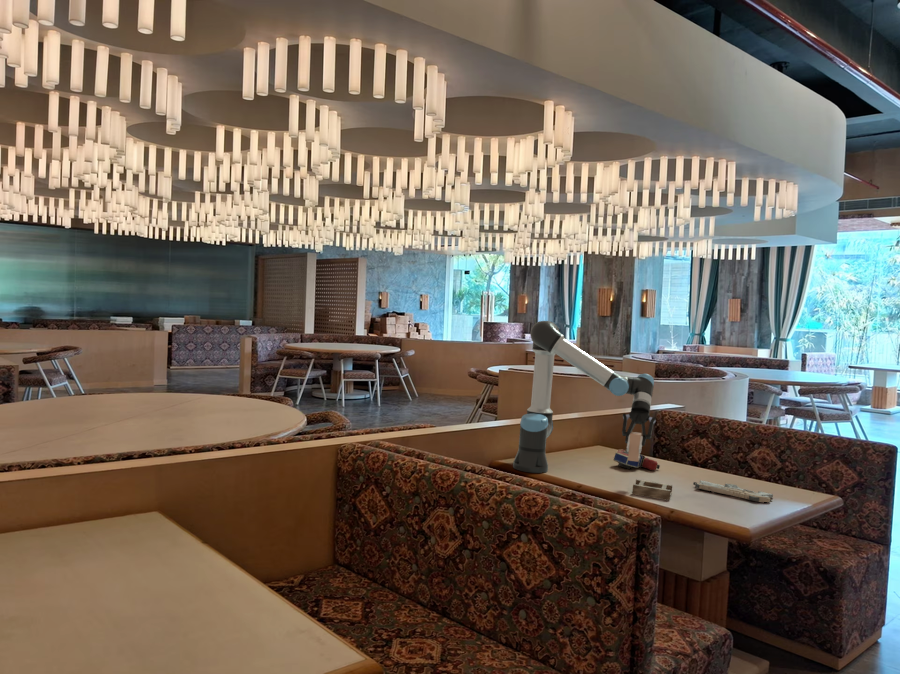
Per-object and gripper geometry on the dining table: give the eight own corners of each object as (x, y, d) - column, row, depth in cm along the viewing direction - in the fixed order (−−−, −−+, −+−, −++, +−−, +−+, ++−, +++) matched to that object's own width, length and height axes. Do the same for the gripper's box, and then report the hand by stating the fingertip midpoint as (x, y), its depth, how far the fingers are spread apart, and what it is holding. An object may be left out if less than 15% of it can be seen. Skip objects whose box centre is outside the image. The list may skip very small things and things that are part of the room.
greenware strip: (627, 460, 274) (630, 433, 273) (629, 458, 278) (631, 431, 278) (638, 461, 272) (640, 434, 272) (639, 459, 277) (641, 432, 276)
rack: (632, 494, 264) (632, 485, 264) (635, 487, 275) (636, 479, 275) (669, 500, 259) (670, 491, 259) (671, 493, 270) (672, 484, 270)
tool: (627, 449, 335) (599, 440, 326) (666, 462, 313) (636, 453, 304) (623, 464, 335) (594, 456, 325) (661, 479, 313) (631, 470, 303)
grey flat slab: (703, 484, 297) (689, 489, 281) (704, 477, 297) (690, 481, 281) (777, 500, 279) (766, 506, 263) (778, 493, 279) (767, 498, 263)
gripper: (662, 413, 286) (655, 458, 271) (621, 408, 292) (612, 452, 277) (662, 402, 281) (655, 447, 266) (620, 397, 287) (611, 441, 272)
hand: (633, 450), depth 272 cm, fingers closed on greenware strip, 4 cm apart
